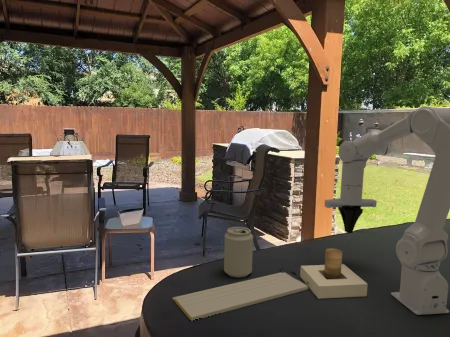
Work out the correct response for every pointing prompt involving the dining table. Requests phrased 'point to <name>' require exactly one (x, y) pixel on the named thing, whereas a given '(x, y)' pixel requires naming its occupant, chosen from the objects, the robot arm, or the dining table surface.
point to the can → (238, 252)
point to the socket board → (333, 282)
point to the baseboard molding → (238, 295)
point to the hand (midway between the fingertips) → (348, 232)
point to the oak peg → (333, 264)
